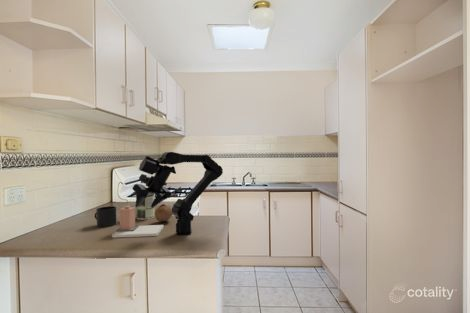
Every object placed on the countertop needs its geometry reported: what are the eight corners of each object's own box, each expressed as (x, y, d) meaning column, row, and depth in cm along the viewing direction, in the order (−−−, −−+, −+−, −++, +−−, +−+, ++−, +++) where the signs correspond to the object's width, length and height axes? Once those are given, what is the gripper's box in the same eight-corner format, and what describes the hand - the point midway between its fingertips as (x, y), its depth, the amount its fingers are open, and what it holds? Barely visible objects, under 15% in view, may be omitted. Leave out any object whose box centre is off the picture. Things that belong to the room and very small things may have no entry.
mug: (101, 222, 144) (100, 206, 144) (120, 222, 142) (119, 206, 141) (88, 226, 135) (87, 209, 134) (108, 227, 132) (108, 210, 132)
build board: (163, 227, 131) (163, 223, 131) (157, 235, 117) (156, 231, 117) (123, 228, 130) (123, 225, 130) (111, 237, 116) (111, 233, 116)
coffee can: (135, 220, 146) (135, 195, 146) (137, 216, 156) (136, 193, 155) (154, 218, 149) (154, 194, 149) (154, 214, 159) (154, 192, 158)
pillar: (135, 227, 127) (134, 205, 127) (129, 230, 122) (129, 207, 122) (125, 227, 128) (125, 205, 128) (120, 230, 123) (119, 207, 123)
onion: (161, 225, 134) (161, 206, 134) (151, 222, 140) (150, 204, 140) (176, 221, 142) (175, 203, 142) (165, 219, 148) (165, 201, 148)
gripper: (164, 171, 127) (149, 198, 129) (134, 165, 111) (117, 196, 113) (178, 183, 122) (162, 211, 123) (148, 179, 106) (131, 211, 107)
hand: (144, 207), depth 117 cm, fingers open, 9 cm apart
